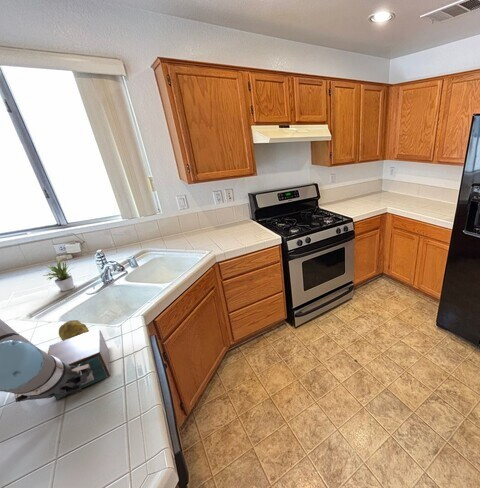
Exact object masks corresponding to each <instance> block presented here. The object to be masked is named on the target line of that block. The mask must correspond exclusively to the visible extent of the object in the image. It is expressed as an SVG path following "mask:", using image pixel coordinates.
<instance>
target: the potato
mask: <svg viewBox="0 0 480 488" xmlns="http://www.w3.org/2000/svg"><path fill="white" fill-rule="evenodd" d="M89 331H90V329H89V328H88V327H87V325H86V324H85V323H82V322H81V321H79V320H75V319H73V320H69V321H65V322H64V323H63V324H61V325H60V327H58V336H59V338H60V340H62V341H64V340H67V339H70V338H73V337H75V336H78V335H81V334H84V333H87V332H89Z"/></svg>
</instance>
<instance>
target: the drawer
mask: <svg viewBox="0 0 480 488" xmlns="http://www.w3.org/2000/svg"><path fill="white" fill-rule="evenodd" d="M85 361H88V362H89V366H90V370H91V371H90V372H89V373H87V381H86V382H85V383H82V386H81V388H82V389H84V388H85V387H88V385H89V386H91V385H93V384H95V383H98V382H100V381H102V380H104V379H106V378H108V377H107V374H106V371H105V369H104V367H103V365H102V363H101V360H100V358H99V356H95V357H92V358H90V359H87V360H85ZM85 361H82V362H80V363H77V364H75V365H72V366H75V367H78V365H81V364H82V363H83V362H85ZM75 376H77V377H78V376H79V373H76V374H75ZM101 379H102V380H101ZM99 380H100V381H99ZM90 384H91V385H90ZM68 395H71V394H70V393H68V392H66V393H62V394H57V393H56V394H55V396H56V397H57V400H59V399H62V398H64V397H66V396H68ZM63 396H64V397H63ZM61 397H62V398H61Z"/></svg>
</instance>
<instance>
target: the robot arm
mask: <svg viewBox="0 0 480 488" xmlns="http://www.w3.org/2000/svg"><path fill="white" fill-rule="evenodd" d="M90 371H91V370H90V366H89V362H88V361H85V362H83V363H82V364H81V365H78V367H75V366H69V365H68V364H67V363H65V362H64V361H62V360H60V359H58V358H56V357H54V356H52V355H50V354H48V352H46V351H43V350H42V349H41V348H39V347H38V346H37V345H36V344H34V343H32V342H31V341H29V340H28V339H27V338H25V337H24V336H23V335H22V334H19V333H18V332H17V331H16V330H14V329H13V328H12V327H11V326H9V324H7V323H5V321H3V320H2V319H1V318H0V392H3V393H10V394H13V395H14V398H15V400H14V401H15V403H20V402H24V401H32V400H43V399H44V400H45V399H52V398H53V397H54V396H55V394H56V393H57V394H62V393H66V392H68V393H71V394H72V395H77V394H79V393H81V392H82V391H83V390H82V389H81V386H82V383H85V382H86V381H87V373H89V372H90ZM76 373H79V376H78V377H77V376H75V374H76Z"/></svg>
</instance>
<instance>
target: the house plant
mask: <svg viewBox="0 0 480 488" xmlns="http://www.w3.org/2000/svg"><path fill="white" fill-rule="evenodd" d="M41 266H43V267H47V268H49V270H48V273H46V274H44V275H42V277H43V278H45V277H47V280H52V279H53V278H54V280H53V282H54V283H55V285H56V286H57V288H59V289H60V291H61V292H67V291H70V290H73V289H74V288H75V283H74V279H73V275H72V274H71V270H72V269H74V267H72V268H70V269H69V270H68V268H69V266H70V264H67V261H65V262H64V260H62V266H61V260H60V259H58V260H57V265H56V266H54V265H52V264H50V265H45V264H44V265H41ZM37 271H40V269H38V270H37ZM68 272H70V273H68Z"/></svg>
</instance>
